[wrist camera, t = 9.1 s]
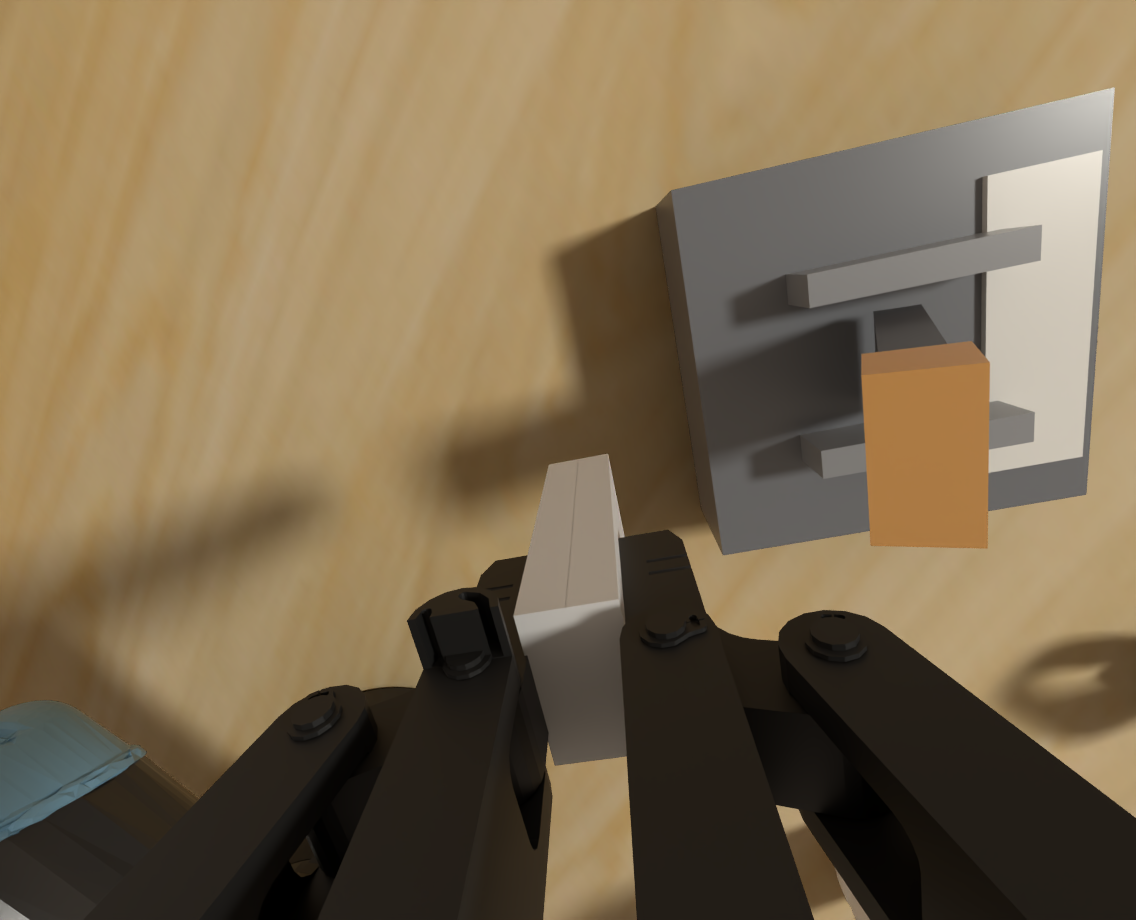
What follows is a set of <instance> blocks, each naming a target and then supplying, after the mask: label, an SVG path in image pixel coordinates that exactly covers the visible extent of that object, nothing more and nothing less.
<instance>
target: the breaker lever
mask: <svg viewBox="0 0 1136 920" xmlns="http://www.w3.org/2000/svg"><path fill="white" fill-rule="evenodd" d="M873 315H874V336H875V352H874V353H865V354H861V377H862V395H863V414H864V432H865V450H866V469H867V487H868V505H869V524H870V542H871V546H906V547H949V548H987V545H988V472H989V400H990V362H989V361H988V359H987V358H986V357H985V356H984V355H983V354H982V352H981V351H980V350H979V349H978V348H977V347H976V345H975V344H974V343H973V342H972V341H967V342H959V343H950V344H947V343H946V341H945V340H944V338H943V336H942V335H941V333H940V332H939V330H938V329H937V327H936V326H935V324H934V323H933V321H932V320H931V318H930V317H929V315H928V313H927V312H926V310H925V309H924V307H923V306H922V304H920V305H913V306H906V307H900V308H893V309H886V310H879V311H873Z"/></svg>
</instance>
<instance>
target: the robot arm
mask: <svg viewBox="0 0 1136 920" xmlns="http://www.w3.org/2000/svg"><path fill="white" fill-rule="evenodd" d="M407 622H408V625H409V628H410V631H411V634H412V637H413V640H414V643H415V646H416V649H417V651H418V654H419V657H420V660H421V663H422V666H423V669H424V670H423V672H422V674H421V677H420V679H419V681H418V684H417V686H416V688H415V689H410V688H384V689H376V690H371V691H366V692H362V691H361V690H360V689H359V688H357V687H353V686H349V685H342V686H334V687H329V688H325V689H322V690H321V691H316V692H314V693H311V694H309V695H308V696H307V697H305V698H304V699H302V700H300V701H298V702H297V703H295V704H293V705H292V706H291V707H290V708H289V709H288V710H286V711H285V712H284V713H283V714H282V715H280V716H279V717H278V718H277V719H276V720H275V721H274V722H273V723H272V724H271V725H270V726H269V727H268V729H267V730H266V731H265V732H264V733H263V734H262V735H261V736H260V737H259V738H258V739H257V740H256V741H255V742H254V743H253V744H252V745H251V746H250V747H249V748H248V749H247V750H246V751H245V752H244V753H243V754H242V755H241V756H240V758H239V759H238V760H237V761H236V762H235V763H234V764H233V765H232V766H231V767H230V768H229V769H228V770H227V771H226V772H225V773H224V774H223V775H222V776H221V777H220V778H219V779H218V780H217V781H216V782H215V783H214V784H213V786H212V787H211V788H210V789H209V790H208V791H207V792H206V793H205V794H204V795H203V796H202V797H201V798H200V799H198V798H197V797H196V796H195V795H193V794H192V793H191V792H190V791H188V790H187V789H186V788H185V787H183V786H182V785H181V784H180V783H178V782H177V781H176V780H175V779H173V778H172V777H171V776H169V775H168V774H167V773H166V772H164V771H163V770H162V769H161V768H159V767H158V766H157V765H156V764H154V763H153V762H152V761H151V760H149V759H148V758H147V757H145V756H144V755H145V754H146V753H147V752H146V751H145V750H144V749H142V748H141V746H140V745H128V744H127V743H126V742H124V741H123V740H121V739H120V738H118V737H117V736H115V735H114V734H113V733H111V732H110V731H108V730H107V729H105V728H104V727H102V726H101V725H100V724H98V723H97V722H95V721H94V720H92V719H91V718H89V717H88V716H87V715H85V714H84V713H82V712H81V711H79V710H78V709H77V708H75V707H73V706H71V705H69V704H66V703H62V702H58V701H49V700H42V701H31V702H26V703H21V704H18V705H14V706H11V707H9V708H6V709H4V710H1V711H0V920H543V913H544V900H545V887H546V874H547V861H548V848H549V835H550V822H551V809H552V790H551V783H550V780H549V776H548V773H547V769H546V766H545V765H546V754H547V744H548V743H549V746H550V750H551V754H552V757H553V761H554V764H555V765H563V764H571V763H579V762H586V761H594V760H602V759H610V758H618V757H625V756H627V767H628V783H629V799H630V815H631V831H632V847H633V863H634V879H635V895H636V911H637V920H814V918H813V915H812V912H811V909H810V906H809V903H808V900H807V897H806V894H805V891H804V888H803V885H802V882H801V879H800V876H799V873H798V870H797V867H796V864H795V861H794V858H793V855H792V852H791V849H790V846H789V843H788V840H787V837H786V834H785V831H784V828H783V825H782V822H781V819H780V816H779V813H778V810H777V807H776V805H779V806H785V807H790V808H796V809H799V811H800V813H801V816H802V818H803V820H804V822H805V823H806V825H807V826H808V828H809V829H810V831H811V832H812V834H813V835H814V837H815V838H816V840H817V841H818V843H819V844H820V846H821V847H822V849H823V850H824V852H825V853H826V855H827V856H828V858H829V859H830V861H831V862H832V864H833V865H834V867H835V868H836V870H837V871H838V873H839V874H840V876H841V877H842V879H843V880H844V882H845V883H846V885H847V886H848V888H849V889H850V891H851V892H852V894H853V895H854V897H855V898H856V900H857V901H858V903H859V904H860V906H861V907H862V909H863V910H864V912H865V913H866V915H867V916H868V918H869V919H870V920H1136V818H1135V817H1134V816H1132V815H1131V814H1130V813H1128V812H1127V811H1126V810H1124V809H1123V808H1122V807H1121V806H1119V805H1118V804H1117V803H1115V802H1114V801H1113V800H1111V799H1110V798H1109V797H1107V796H1106V795H1105V794H1103V793H1102V792H1101V791H1100V790H1098V789H1097V788H1096V787H1094V786H1093V785H1092V784H1090V783H1089V782H1088V781H1086V780H1085V779H1084V778H1082V777H1081V776H1080V775H1078V774H1077V773H1076V772H1075V771H1073V770H1072V769H1071V768H1069V767H1068V766H1067V765H1065V764H1064V763H1063V762H1061V761H1060V760H1059V759H1057V758H1056V757H1055V756H1054V755H1052V754H1051V753H1050V752H1048V751H1047V750H1046V749H1044V748H1043V747H1042V746H1040V745H1039V744H1038V743H1036V742H1035V741H1034V740H1032V739H1031V738H1030V737H1029V736H1027V735H1026V734H1025V733H1023V732H1022V731H1021V730H1019V729H1018V728H1017V727H1015V726H1014V725H1013V724H1011V723H1010V722H1009V721H1008V720H1006V719H1005V718H1004V717H1002V716H1001V715H1000V714H998V713H997V712H996V711H994V710H993V709H992V708H990V707H989V706H988V705H986V704H985V703H984V702H983V701H981V700H980V699H979V698H977V697H976V696H975V695H973V694H972V693H971V692H969V691H968V690H967V689H965V688H964V687H963V686H962V685H960V684H959V683H958V682H956V681H955V680H954V679H952V678H951V677H950V676H948V675H947V674H946V673H944V672H943V671H942V670H940V669H939V668H938V667H937V666H935V665H934V664H933V663H931V662H930V661H929V660H927V659H926V658H925V657H923V656H922V655H921V654H919V653H918V652H917V651H916V650H914V649H913V648H912V647H910V646H909V645H908V644H906V643H905V642H904V641H902V640H901V639H900V638H898V637H897V636H896V635H894V634H893V633H892V632H891V631H889V630H888V629H887V628H885V627H884V626H882V625H880V624H879V623H877V622H875V621H873V620H871V619H869V618H868V617H865V616H862V615H858V614H854V613H850V612H846V611H831V610H822V611H816V612H810V613H804V614H802V615H800V616H798V617H796V618H794V619H792V620H790V621H788V622H787V623H786V625H785V626H784V627H783V628H782V629H781V630H780V632H779V640H778V641H770V640H756V639H749V638H742V637H739V636H736V635H733V634H730V633H727V632H725V631H724V630H722V629H720V628H718V627H717V626H716V625H715V623H714V622H713V621H712V619H711V618H710V616H709V615H708V614H706V612H705V608H704V605H703V602H702V599H701V596H700V593H699V590H698V587H697V584H696V581H695V578H694V575H693V571H692V568H691V565H690V562H689V559H688V556H687V553H686V550H685V547H684V544H683V541H682V539H680V538H679V537H678V536H676V535H675V534H673V533H672V532H670V531H669V530H663V531H657V532H651V533H645V534H640V535H634V536H628V537H624V531H623V526H622V521H621V516H620V511H619V506H618V501H617V496H616V491H615V486H614V481H613V476H612V471H611V466H610V461H609V456H608V454H603V455H598V456H592V457H587V458H582V459H576V460H571V461H565V462H560V463H555V464H549V466H548V471H547V475H546V479H545V483H544V488H543V492H542V496H541V500H540V505H539V509H538V513H537V517H536V522H535V526H534V530H533V534H532V539H531V543H530V547H529V552H528V555H527V556H521V557H515V558H509V559H503V560H498V561H495V562H494V563H493V564H492V565H491V566H490V567H489V568H488V569H487V570H486V571H485V572H484V573H483V574H482V575H481V577H480V580H479V582H478V585H477V587H473V588H461V589H457V590H454V591H450V592H446V593H444V594H441V595H439V596H437V597H435V598H433V599H431V600H429V601H427V602H426V603H425V604H423V605H422V606H420V607H419V608H418V609H416V610H415V611H414V613H413V614H412V615H411V616H410V618H409V619H408V620H407Z"/></svg>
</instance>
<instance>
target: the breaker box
mask: <svg viewBox="0 0 1136 920" xmlns="http://www.w3.org/2000/svg"><path fill="white" fill-rule="evenodd" d="M1114 90H1115V88H1110V89H1106V90H1102V91H1097V92H1093V93H1089V94H1084V95H1080V96H1076V97H1071V98H1067V99H1063V100H1059V101H1054V102H1050V103H1046V104H1041V105H1037V106H1033V107H1028V108H1024V109H1020V110H1016V111H1011V112H1007V113H1003V114H998V115H994V116H990V117H985V118H981V119H977V120H972V121H968V122H964V123H960V124H955V125H951V126H947V127H942V128H938V129H934V130H929V131H925V132H921V133H917V134H912V135H908V136H904V137H899V138H895V139H891V140H886V141H882V142H878V143H874V144H869V145H865V146H861V147H856V148H852V149H848V150H843V151H839V152H835V153H830V154H826V155H822V156H818V157H813V158H809V159H805V160H800V161H796V162H792V163H787V164H783V165H779V166H775V167H770V168H766V169H762V170H757V171H753V172H749V173H744V174H740V175H736V176H731V177H727V178H723V179H719V180H714V181H710V182H706V183H701V184H697V185H693V186H688V187H684V188H680V189H676V190H671V191H670V192H669V193H668V194H667V195H666V196H665V197H664V198H663V199H662V200H661V201H660V202H659V203H658V204H657V205H656V213H657V219H658V226H659V233H660V239H661V246H662V253H663V259H664V266H665V272H666V279H667V286H668V292H669V299H670V306H671V312H672V319H673V325H674V332H675V339H676V345H677V352H678V359H679V365H680V372H681V378H682V385H683V392H684V398H685V405H686V412H687V418H688V425H689V432H690V438H691V445H692V451H693V458H694V465H695V471H696V478H697V485H698V491H699V498H700V504H701V509H702V512H703V514H704V516H705V518H706V520H707V522H708V524H709V527H710V529H711V531H712V533H713V535H714V537H715V539H716V542H717V544H718V546H719V548H720V550H721V552H722V554H723V555H728V554H734V553H740V552H746V551H752V550H758V549H764V548H770V547H776V546H782V545H788V544H794V543H800V542H806V541H812V540H818V539H824V538H830V537H836V536H842V535H848V534H854V533H860V532H866V531H870V524H869V505H868V487H867V469H866V450H865V432H864V414H863V395H862V377H861V354H865V353H874V352H875V336H874V315H873V311H879V310H886V309H893V308H900V307H906V306H913V305H920V304H922V306H923V307H924V309H925V310H926V312H927V313H928V315H929V317H930V318H931V320H932V321H933V323H934V324H935V326H936V327H937V329H938V330H939V332H940V333H941V335H942V336H943V338H944V340H945V341H946V343H947V344H950V343H959V342H967V341H972V342H973V343H974V344H975V345H976V347H977V348H978V349H979V350H980V351H981V352H982V354H983V355H984V356H985V357H986V358H987V359H988V361H989V362H990V400H989V472H988V511H992V510H998V509H1004V508H1010V507H1016V506H1021V505H1027V504H1033V503H1039V502H1045V501H1051V500H1057V499H1063V498H1069V497H1075V496H1081V495H1086V492H1087V477H1088V463H1089V449H1090V434H1091V420H1092V405H1093V391H1094V377H1095V362H1096V348H1097V334H1098V319H1099V305H1100V291H1101V276H1102V262H1103V248H1104V233H1105V219H1106V204H1107V190H1108V176H1109V161H1110V147H1111V133H1112V118H1113V104H1114Z"/></svg>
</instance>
